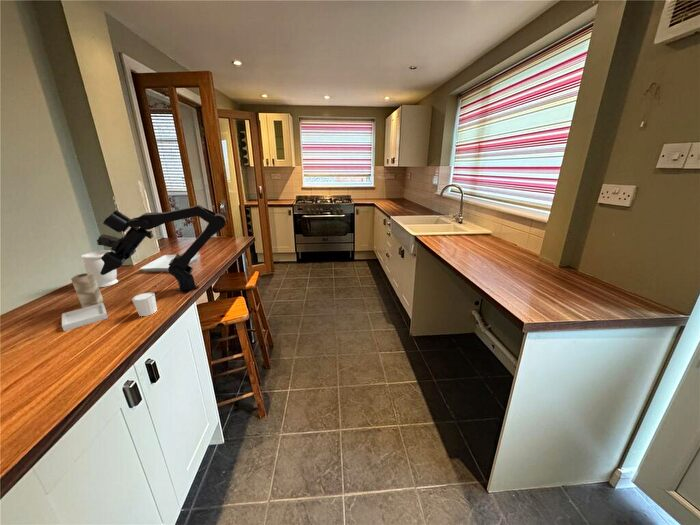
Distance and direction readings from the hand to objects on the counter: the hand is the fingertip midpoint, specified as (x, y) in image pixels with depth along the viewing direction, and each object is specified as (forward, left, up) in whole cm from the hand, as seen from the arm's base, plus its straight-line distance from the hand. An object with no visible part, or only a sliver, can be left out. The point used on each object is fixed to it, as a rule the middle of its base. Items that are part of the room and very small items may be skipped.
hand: (106, 270), depth 110 cm
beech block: (+5, +6, -13) cm, 15 cm away
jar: (+23, -8, -13) cm, 28 cm away
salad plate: (+17, -36, -14) cm, 42 cm away
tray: (-5, +13, -13) cm, 19 cm away
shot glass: (-23, +1, -13) cm, 26 cm away
